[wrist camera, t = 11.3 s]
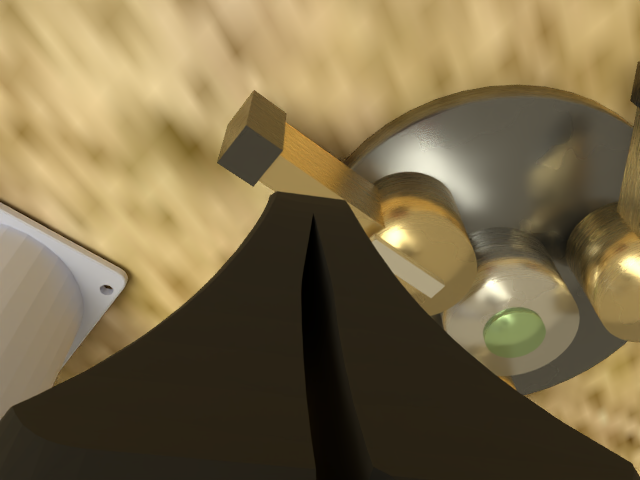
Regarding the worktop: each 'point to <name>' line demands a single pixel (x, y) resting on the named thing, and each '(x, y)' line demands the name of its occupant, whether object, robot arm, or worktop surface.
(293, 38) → the worktop surface
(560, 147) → the level plate
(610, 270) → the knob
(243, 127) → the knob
